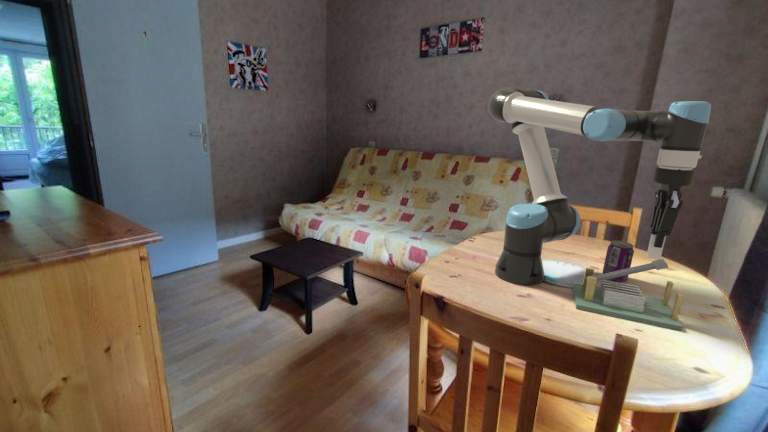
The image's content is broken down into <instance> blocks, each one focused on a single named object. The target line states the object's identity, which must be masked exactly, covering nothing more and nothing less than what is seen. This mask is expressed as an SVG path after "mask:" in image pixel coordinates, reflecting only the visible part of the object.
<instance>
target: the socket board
mask: <svg viewBox="0 0 768 432" xmlns="http://www.w3.org/2000/svg"><path fill="white" fill-rule="evenodd" d="M582 285H583V283H580V282H579V283H578V282H573V283H572V289H573V290H572V291H573V297H574V298H573V299H574V304H575V309H576V310H582V311H587V312H589V313H590V312H591V313H596V314H601V315H604V316H610V317H614V318H619V319H624V320H628V321H633V322H638V323H643V324H647V325H652V326H655V327H661V328H666V329H670V330H674V331H675V330H676V331H679V332H682V329H683V325H682V324H681V323H680V321H679V319H677V320H672V319H671V314H672V310H673V309H671V307H670V306H669V304H668V305H667V306H665V305H663V304H662V300H663V298H658V297H653V296H646V295H644V298H645V302H644V310H643V313H639V312H634V311H629V310H624V309H619V308H614V307H609V306H605V305H603V304H602V301H601V297H600V294H599V287H600V286H595V290H594V295H593V299H592V302H591V301H586V300H584V294H585V291H582Z"/></svg>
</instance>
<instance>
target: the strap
mask: <svg viewBox="0 0 768 432" xmlns="http://www.w3.org/2000/svg"><path fill="white" fill-rule="evenodd" d="M664 269H669V265H668V263H667V262H666V261H665V259H664V258H661V259H655V260H652V261H651V262H649V263H645V264H641V265H635V266H631V267H630V268H627V269H622V270H618V271H613V272H609V273H605V274H602V273H601V274H596V275H593V276H592V277H596V278H597V280H596V283H598V282H601V281H602V280H606V281H608V280H611V278H616V277H620V276H625V275H628V276H630V275H633V274H637V273H642V272H646V271H647V272H648V271H652V270H656V271H659V270H664ZM588 276H591V275H587V276H586V280H587V279H588Z"/></svg>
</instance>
